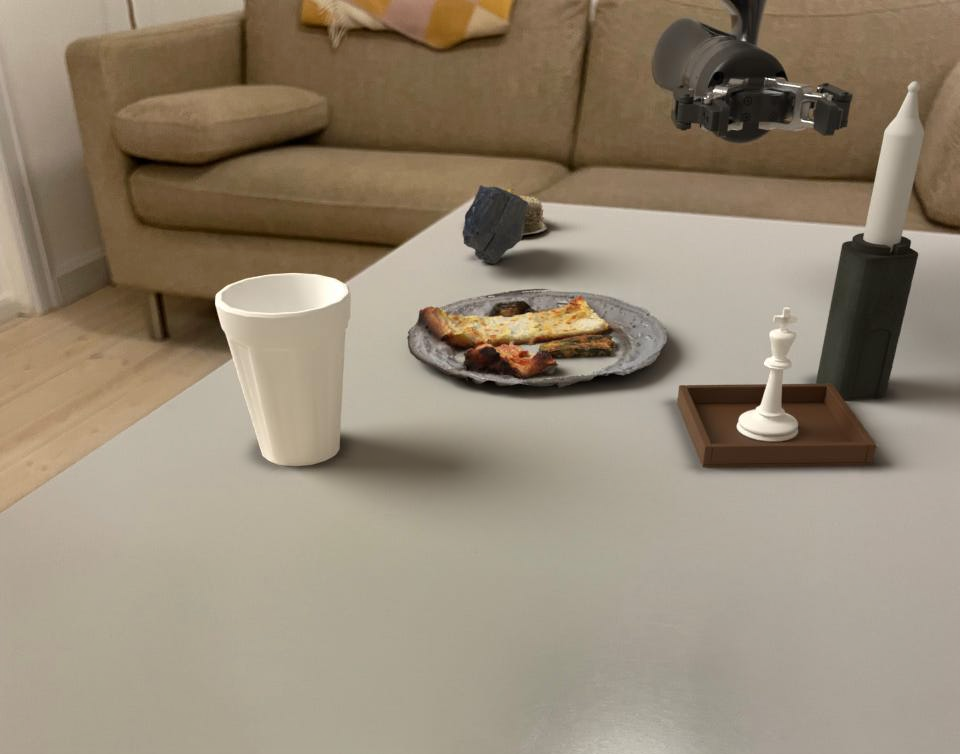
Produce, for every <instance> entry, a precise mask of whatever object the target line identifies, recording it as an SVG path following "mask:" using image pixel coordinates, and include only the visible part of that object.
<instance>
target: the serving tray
mask: <svg viewBox="0 0 960 754" xmlns="http://www.w3.org/2000/svg"><path fill="white" fill-rule="evenodd" d="M766 385H767V383H762V384H761V383H759V384H758V383H757V384H756V383H755V384H753V383H751V384H749V383H747V384H680V385H678V392H677V403H676V404H677V408H678V410H679V413H680V416H681V417H682V421H683V422H684V425H685V427H686V430H687V432H688V435H689V438H690V440H691V442H692V445H693V448H694V450H695V453H696V455H697V457H698V460H699V462H700V465H701V467H702V468H760V467H761V468H764V467H765V468H766V467H767V468H768V467H843V466H844V467H847V466H848V467H849V466H850V467H851V466H852V467H855V466H856V467H857V466H859V467H860V466H861V467H862V466H864V467H865V466H867V467H868V466H873V462H874V458H875V453H876V450H877V443H876V442H875V440H874V439H873V438H872V436H871V435H870V434H869V432H868V431H867V430H866V428H865V427H864V426H863V423H861V421H860V420H859V418H858V417H857V415H856V414H855V413H854V412H853V410H852V409H851V408H850V407H849V404H847V401H844V399H843V398H842V397H841V395H840V394H839V393H838V391H837V390H836V388H835V387H834V386H833V384H832V383H829V384H816V383H782V399H781V407H782V408H783V409H784V411H785V413H787V414H789V415H791V416H793V417H794V418H795V419H796V420H797V422H798V434H797V435H796V436H795V437H794V438H792V439H789V440H786V441H779V442H767V441H760V440H755V439H752V438H749V437H747V436H745V435H743V434H741V433H740V432H739V431H738V429H737V423H738V422H739V421H738V420H739V417H740V416H741V415H742V414H743V413H745V412H747V411H750V410H755V409H756V408H757V407H758V406H760V405H761V402H762V399H763V396H764V392H765V389H766Z"/></svg>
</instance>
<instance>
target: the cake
mask: <svg viewBox="0 0 960 754" xmlns="http://www.w3.org/2000/svg"><path fill="white" fill-rule="evenodd" d="M507 191H508V192H510V193H512V194H515V189H514V188H513V187H511V188H509V189H507ZM519 197H521V199H523V200H525V201H527V202H528V205H527V210H526V215H525V219H524V230H523V234H522V236H526V235H532V234H538V233H541V232H544V231H546V230H548V229H547V228H548V227H547V225H546V224H545V223H544V220H545V217H543V216H544V209H543V207H544V206H543V204H542V202H541V201H540V200H539V198H536V197H534V196H525V195H519Z"/></svg>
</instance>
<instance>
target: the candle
mask: <svg viewBox="0 0 960 754" xmlns="http://www.w3.org/2000/svg"><path fill="white" fill-rule="evenodd" d="M920 88H921V85H920V83H919V81H916V80H914V81H912V82H911V83H909V85H908V86H907V91H908V92H907V94H906V96H905V98H904V100H903V102H902V104H901V106H900V109H899V111H898V112H897V114H896V116H895V117H894V118H893V120H891V122H890V123H889V124H888V125H887V127H886V128H885V130H884V133H883V138H882V142H881V148H880V151H879V158H878V163H877V168H876V172H875V177H874V182H873V188H872V192H871V198H870V202H869V207H868V212H867V217H866V222H865V227H864V232H861V233H856V234H855V235H853V236H852V239H851V240H847V241H844V242H843V243H842V244H841V248H840V253H839V259H838V265H837V269H836V273H835V274H836V275H835V281H834V285H833V290H832V295H831V300H830V307H829V312H828V316H827V322H826V327H825V332H824V339H823V344H822V348H821V352H820V353H821V354H820V360H819V364H818V369H817V376H816V379H815V384H829V383H832V384H833V386H834V387H835V388H836V390H837V391H838V393H839V394H840V395H841V397H842V398H843V399H844V401H845V402H850V401H854V400H865V399H877V400H879V399H883V398H885V397H886V395H887V391H888V386H889V382H890V379H891V374H892V370H893V366H894V361H895V357H896V353H897V349H898V344H899V340H900V335H901V331H902V327H903V322H904V318H905V314H906V311H907V306H908V301H909V298H910V292H911V290H912V289H911V288H912V284H913V281H914V275H915V271H916V267H917V263H918V258H919V252H918V251H917V250H915V249H913V248H911V245H912V241H911V239H909V238H908V237H905V236H903V232H904V228H905V223H906V220H907V219H906V218H907V214H908V209H909V205H910V199H911V195H912V191H913V187H914V183H915V177H916V173H917V168H918V165H919V159H920V155H921V151H922V147H923V141H924V137H925V130H924V126H923V124H922V122H921V119H920V113H919V99H918V92H919V91H920Z"/></svg>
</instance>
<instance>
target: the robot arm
mask: <svg viewBox="0 0 960 754" xmlns="http://www.w3.org/2000/svg"><path fill="white" fill-rule="evenodd" d="M717 2H719V3H720V4H722V6H724V8H725V9H726V10H727V12H728V13H729V15H730V23H731V25H730V26H731V27H730V29H731V30H730V32H727V31H725V30H723V29H721V28H717V27H715V26H713V25H711V24H708V23H706V22H704V21H702V20H699V19H697V18H695V17H694V18H693V17H691V16H683V17H679V18H677V19H675V20H673V21H671V23H669V24H668V25H667V26H666V27H665V28H664V29H663V30H662V31H661V33H660V35H659V36H658V38H657V40H656V42H655V46H654V48H653V51H652V56H651V75H652V78H653V81H654V84H655V85H656V86H657V88H658V89H659V90H661V91H662V92H664V93H666V94H667V95H670V96H672V100H671V113H670V119H671V121H672V122H673V125H674V126H675V128H676V129H677V130H680V131H683V132H684V131H687V130H690V129H692V124H698V125H699V127H698V130H700V131H702V132H705V133H709V132H711V133H712V134H713V135H714V136H715V137H716V138H719V139H720V140H723V141H725V142H727V143H731V144H737V145H738V144H748V143H752V142H755V141H757V140H759V139H761V138H763V137H765V135H767V134H769V132H770V131H772V130H775V129H778V130H783V131H787V132H788V131H789V132H794V133H795V132H798V131H804V130H806V129H807V128H810V129H813V130H815V131H816V132H817V133H819V134H820V135H821V136H823V137H833V136H834V135H835V132H836V131H840V129H841V130H842V129H843V128H847V127H848V125H849V116H850V110H851V103H852V101H853V97H854V96H853V95H854V94H853V93H851V92H849V91H847V90H844V89H843V88H840V87H838V86H836V85H833V84H830V83H829V82H823V83H822V84H821V83H820V84H818V85H817V87H816V92H815V91H814V88H813V86H812V85H811V84H806V83H799V82H793V81H792V82H791V81H789V78H788V75H787V73H786V69H785V68H784V67H783V65H782V63H781V62H780V61H779V60H778V58H776V57H775V56H774V55H773V54H771V53H770V52H768V51H766V50H764V49H763V48H761V47H759V42H760V41H759V40H760V34H761V28H762V24H763V19H764V14H765V10H766V7H767V2H768V0H717ZM810 110H813V111H812V117H811V118H810ZM790 118H791V120H788V119H790Z"/></svg>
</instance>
